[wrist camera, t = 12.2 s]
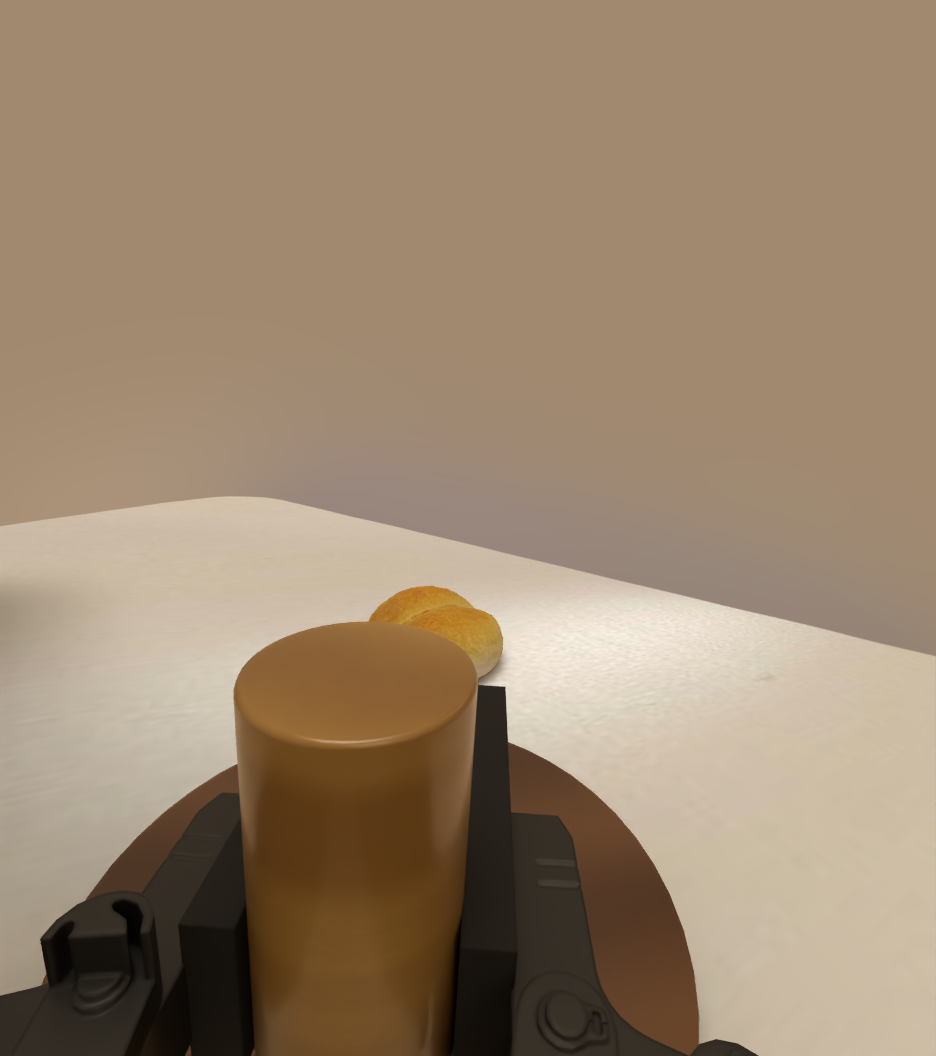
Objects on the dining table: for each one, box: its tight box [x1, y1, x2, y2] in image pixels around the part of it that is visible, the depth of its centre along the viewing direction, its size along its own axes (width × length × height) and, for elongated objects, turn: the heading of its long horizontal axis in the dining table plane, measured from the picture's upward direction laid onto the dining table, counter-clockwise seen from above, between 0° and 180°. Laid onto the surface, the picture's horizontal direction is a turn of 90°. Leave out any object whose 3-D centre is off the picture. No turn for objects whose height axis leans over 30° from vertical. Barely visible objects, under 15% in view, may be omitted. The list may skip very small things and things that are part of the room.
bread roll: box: [368, 586, 503, 678], centre depth 35 cm, size 8×9×4 cm
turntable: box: [42, 622, 699, 1056], centre depth 15 cm, size 17×17×12 cm
